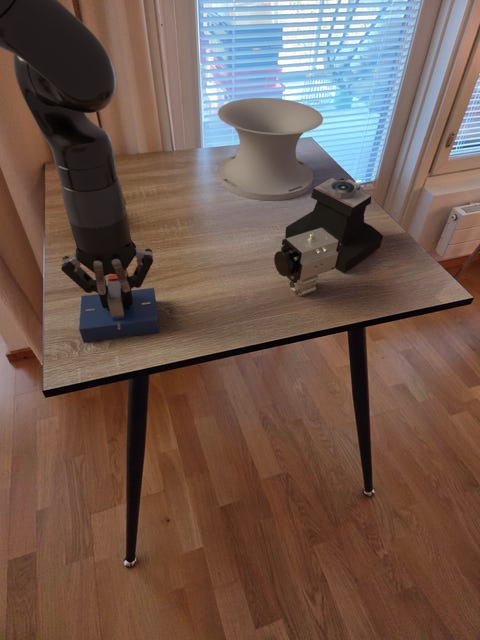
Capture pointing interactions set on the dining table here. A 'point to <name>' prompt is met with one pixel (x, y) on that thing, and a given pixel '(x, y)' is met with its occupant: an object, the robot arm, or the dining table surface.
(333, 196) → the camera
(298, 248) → the pneumatic valve
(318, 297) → the dining table surface
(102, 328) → the toggle switch base
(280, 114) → the vase
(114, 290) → the toggle switch lever
